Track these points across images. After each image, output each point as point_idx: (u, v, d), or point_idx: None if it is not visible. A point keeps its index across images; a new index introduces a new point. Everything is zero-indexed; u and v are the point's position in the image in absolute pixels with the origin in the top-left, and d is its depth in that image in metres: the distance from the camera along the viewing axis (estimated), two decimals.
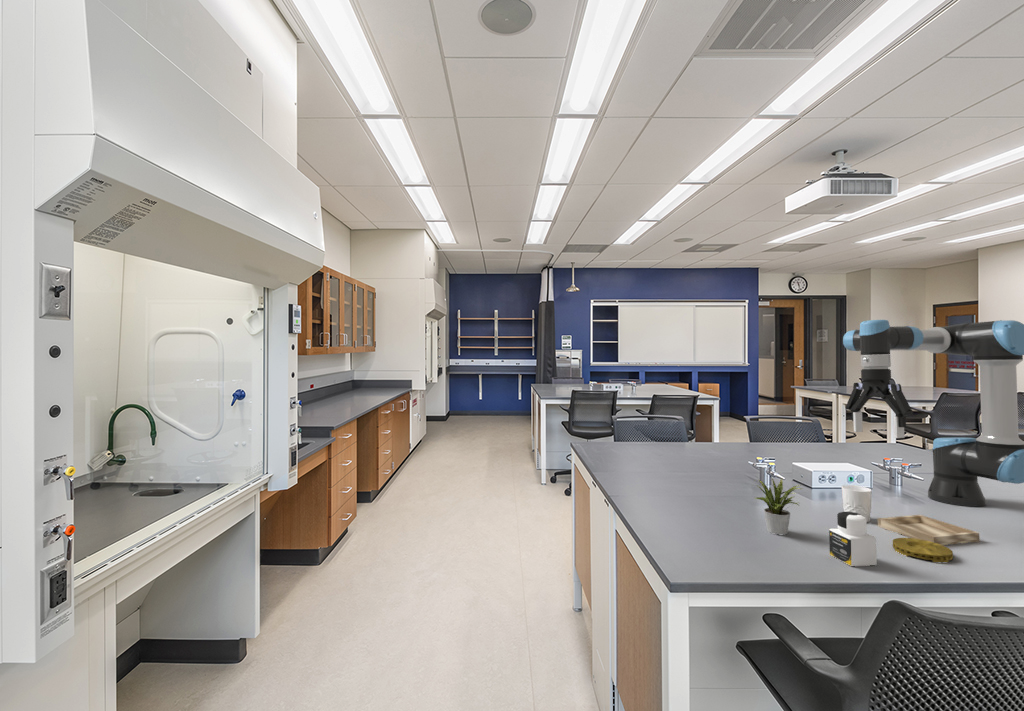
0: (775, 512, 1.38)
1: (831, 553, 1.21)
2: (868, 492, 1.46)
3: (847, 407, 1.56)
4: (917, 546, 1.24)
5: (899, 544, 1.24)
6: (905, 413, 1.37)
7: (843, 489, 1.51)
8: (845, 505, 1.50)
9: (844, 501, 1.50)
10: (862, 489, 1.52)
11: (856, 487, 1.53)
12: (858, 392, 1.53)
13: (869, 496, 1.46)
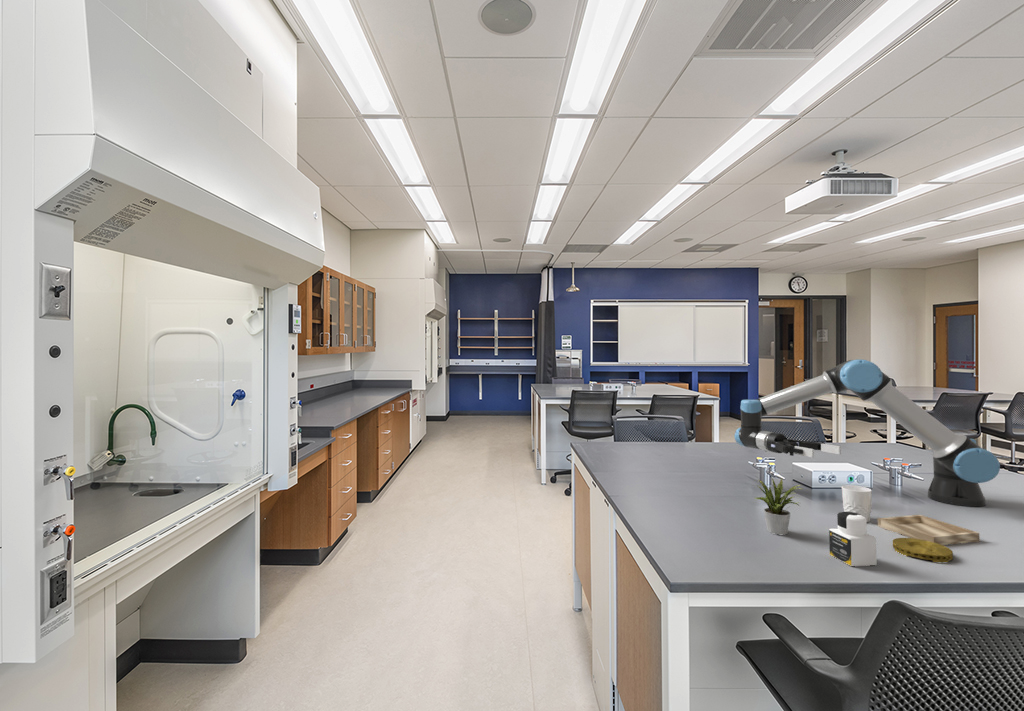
0: (775, 512, 1.38)
1: (831, 553, 1.21)
2: (868, 492, 1.46)
3: None
4: (917, 546, 1.24)
5: (899, 544, 1.24)
6: None
7: (843, 489, 1.51)
8: (845, 505, 1.50)
9: (844, 501, 1.50)
10: (862, 489, 1.52)
11: (856, 487, 1.53)
12: None
13: (869, 496, 1.46)
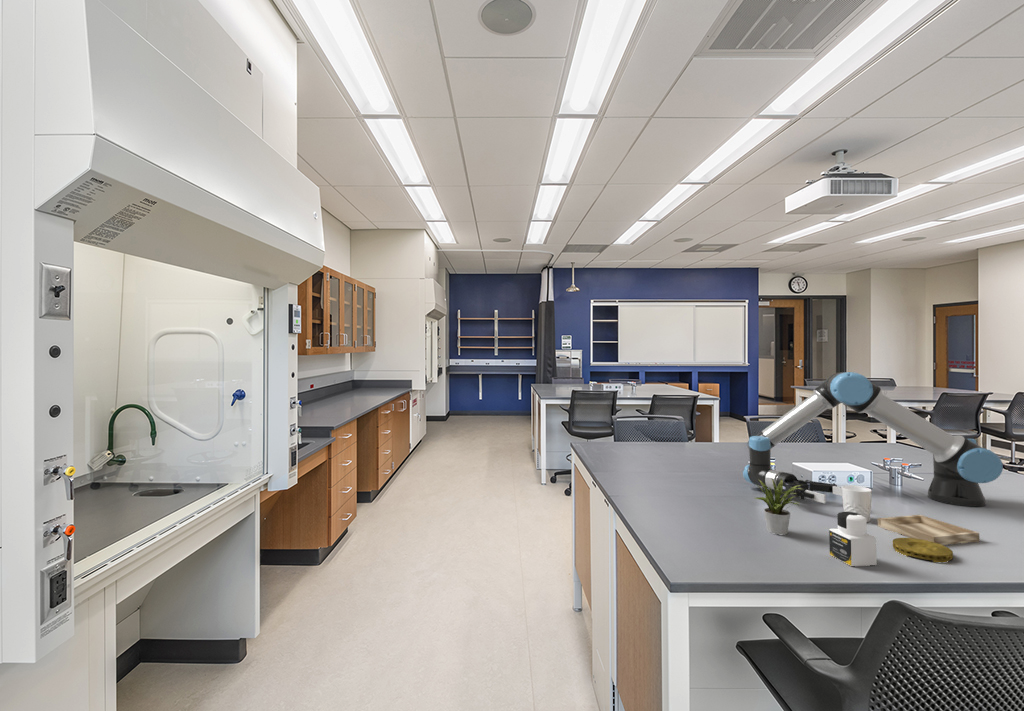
0: (775, 512, 1.38)
1: (831, 553, 1.21)
2: (868, 492, 1.46)
3: None
4: (917, 546, 1.24)
5: (899, 544, 1.24)
6: (796, 497, 1.59)
7: (843, 489, 1.51)
8: (845, 505, 1.50)
9: (844, 501, 1.50)
10: (862, 489, 1.52)
11: (856, 487, 1.53)
12: None
13: (869, 496, 1.46)
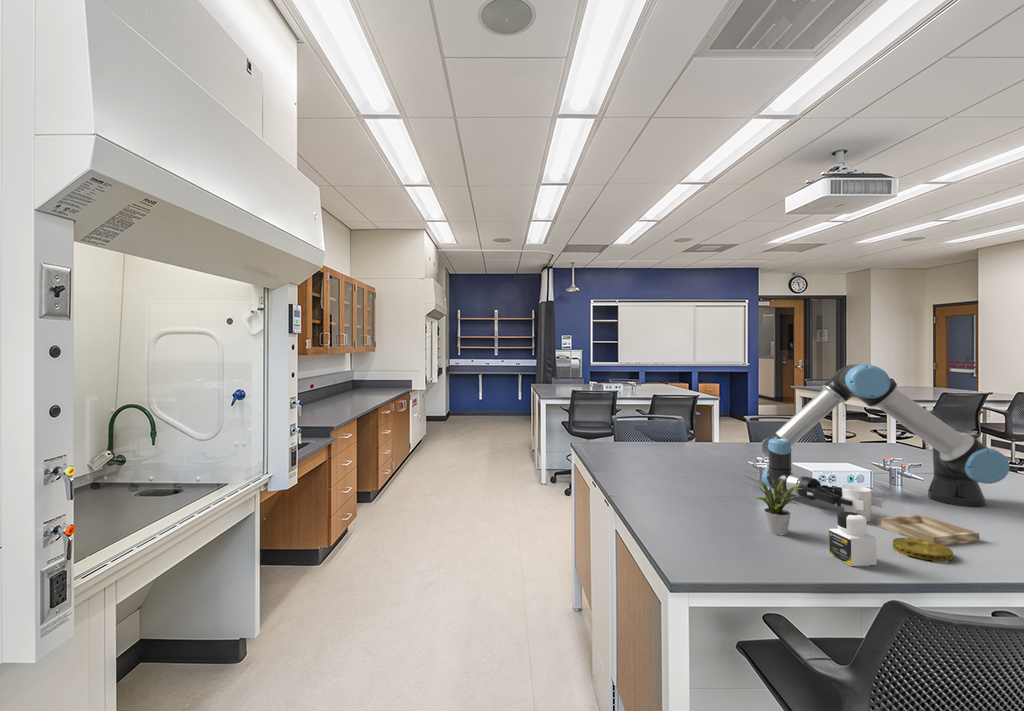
0: (775, 512, 1.38)
1: (831, 553, 1.21)
2: (868, 492, 1.46)
3: None
4: (917, 546, 1.24)
5: (899, 544, 1.24)
6: (833, 504, 1.50)
7: (843, 489, 1.51)
8: None
9: None
10: (862, 489, 1.52)
11: (856, 487, 1.53)
12: None
13: (869, 496, 1.46)
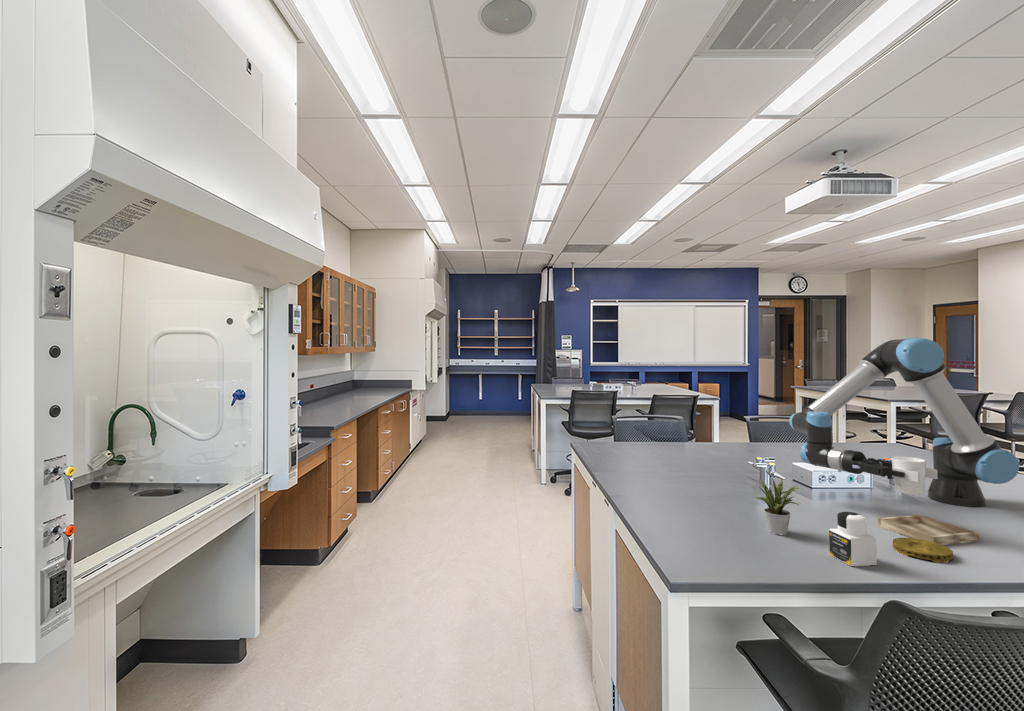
0: (775, 512, 1.38)
1: (831, 553, 1.21)
2: (922, 462, 1.36)
3: None
4: (917, 546, 1.24)
5: (899, 544, 1.24)
6: (883, 476, 1.40)
7: (894, 460, 1.40)
8: None
9: None
10: (914, 460, 1.41)
11: (907, 458, 1.42)
12: None
13: (923, 467, 1.36)
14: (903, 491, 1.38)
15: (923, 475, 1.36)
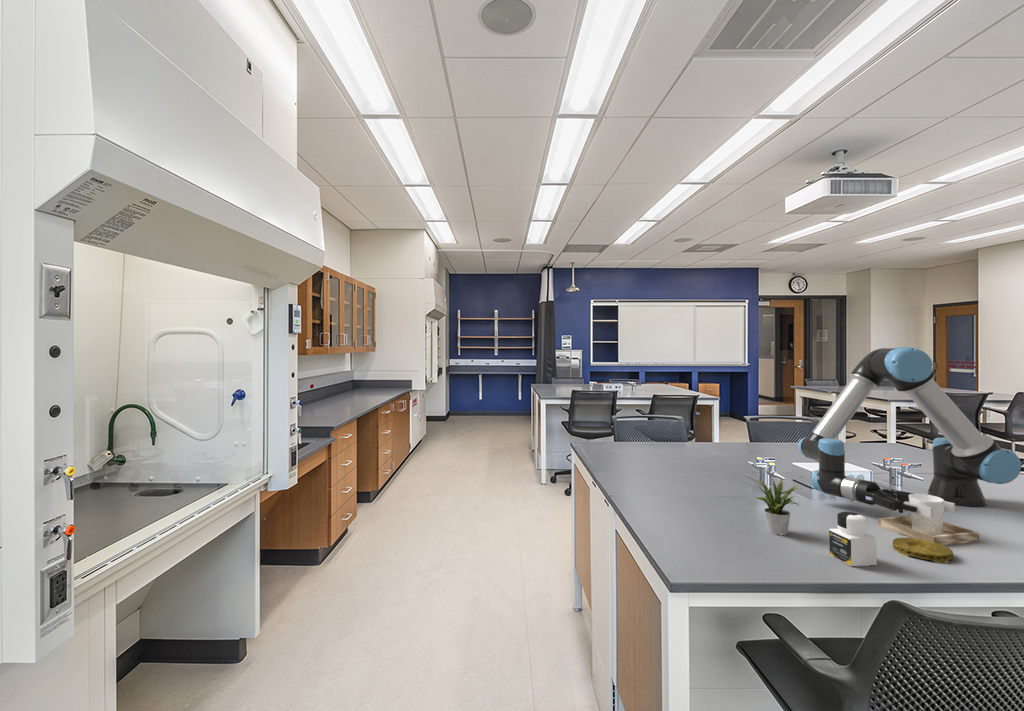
0: (775, 512, 1.38)
1: (831, 553, 1.21)
2: (941, 502, 1.33)
3: None
4: (917, 546, 1.24)
5: (899, 544, 1.24)
6: (894, 510, 1.37)
7: (911, 499, 1.37)
8: (914, 516, 1.37)
9: None
10: (931, 498, 1.38)
11: (924, 496, 1.39)
12: None
13: (942, 507, 1.33)
14: (921, 531, 1.35)
15: (942, 515, 1.33)
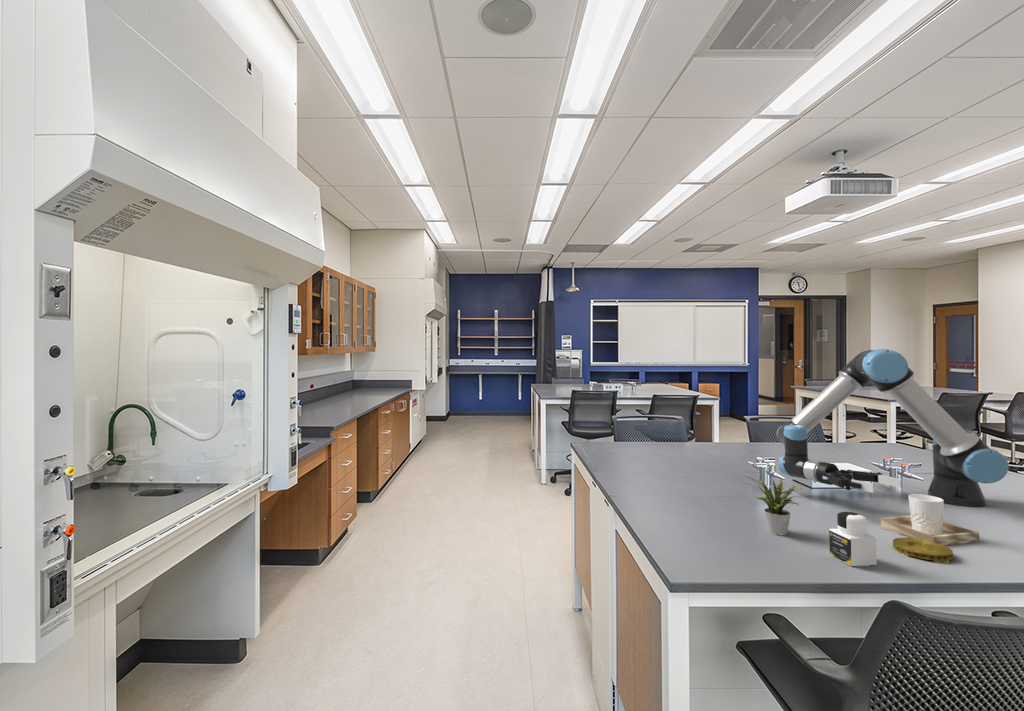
0: (775, 512, 1.38)
1: (831, 553, 1.21)
2: (941, 502, 1.33)
3: None
4: (917, 546, 1.24)
5: (899, 544, 1.24)
6: (841, 487, 1.50)
7: (911, 499, 1.37)
8: (913, 516, 1.37)
9: (912, 512, 1.37)
10: (931, 498, 1.38)
11: (924, 496, 1.40)
12: None
13: (942, 506, 1.33)
14: (921, 531, 1.35)
15: (941, 515, 1.33)
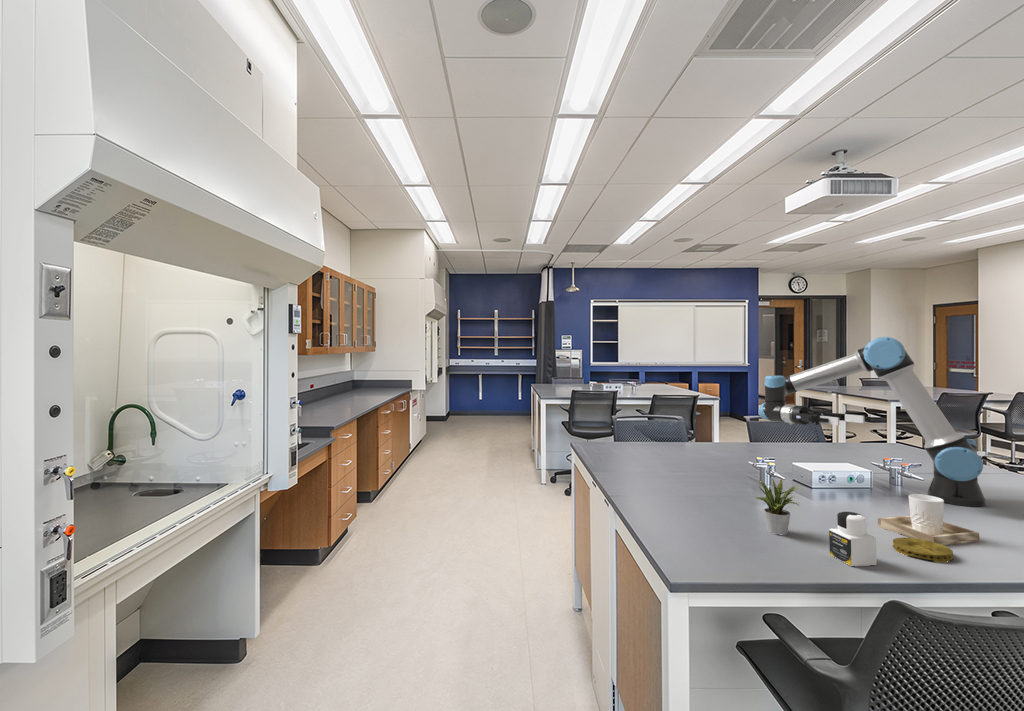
0: (775, 512, 1.38)
1: (831, 553, 1.21)
2: (941, 502, 1.33)
3: None
4: (917, 546, 1.24)
5: (899, 544, 1.24)
6: (811, 422, 1.70)
7: (911, 499, 1.37)
8: (913, 516, 1.37)
9: (912, 512, 1.37)
10: (931, 498, 1.38)
11: (924, 496, 1.40)
12: None
13: (942, 507, 1.33)
14: (921, 531, 1.35)
15: (941, 515, 1.33)
